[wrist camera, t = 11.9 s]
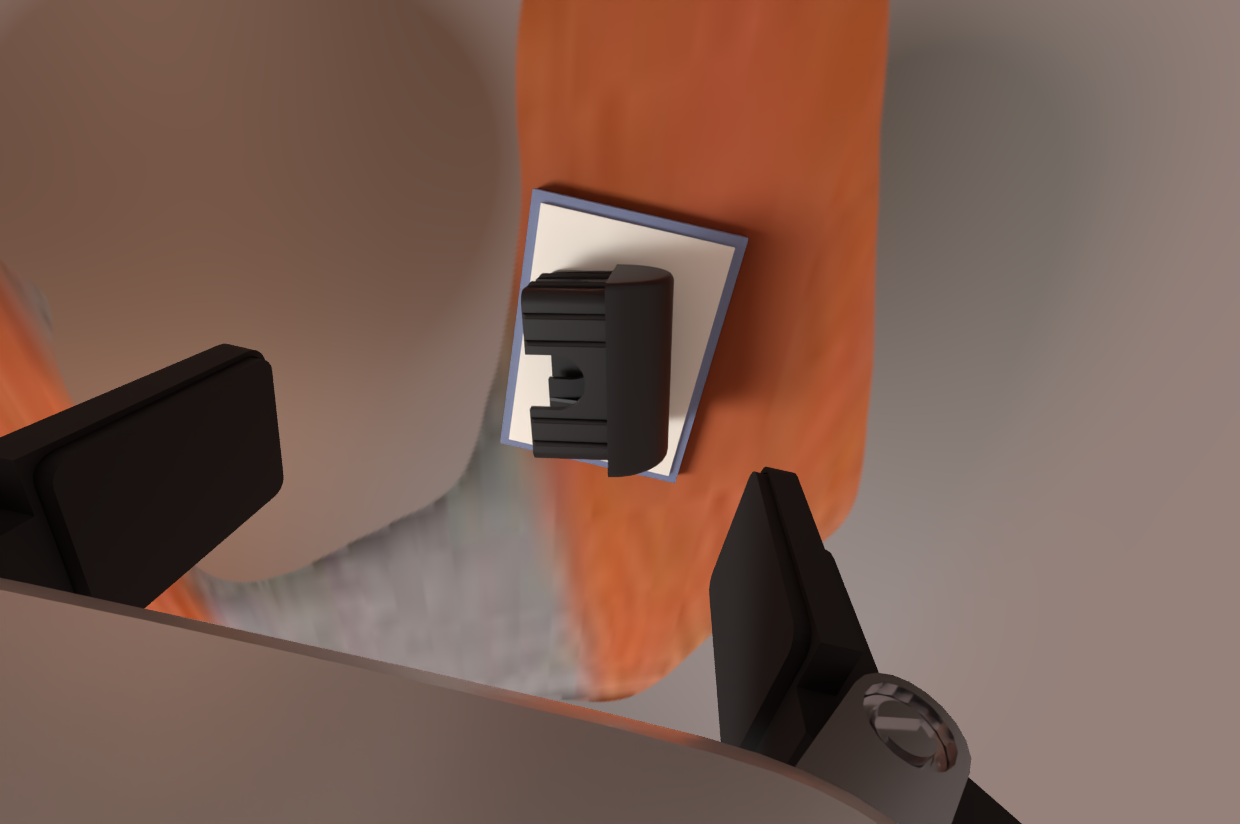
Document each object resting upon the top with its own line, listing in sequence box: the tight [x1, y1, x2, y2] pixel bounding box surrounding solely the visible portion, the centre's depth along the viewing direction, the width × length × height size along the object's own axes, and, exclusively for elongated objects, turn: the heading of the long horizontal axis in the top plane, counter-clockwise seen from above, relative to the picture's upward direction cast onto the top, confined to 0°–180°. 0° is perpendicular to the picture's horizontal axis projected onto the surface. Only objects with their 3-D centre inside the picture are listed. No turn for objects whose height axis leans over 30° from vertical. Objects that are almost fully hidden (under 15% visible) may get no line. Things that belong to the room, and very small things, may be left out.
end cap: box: [521, 264, 674, 477], centre depth 28 cm, size 10×7×7 cm
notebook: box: [500, 188, 748, 483], centre depth 32 cm, size 16×12×1 cm
